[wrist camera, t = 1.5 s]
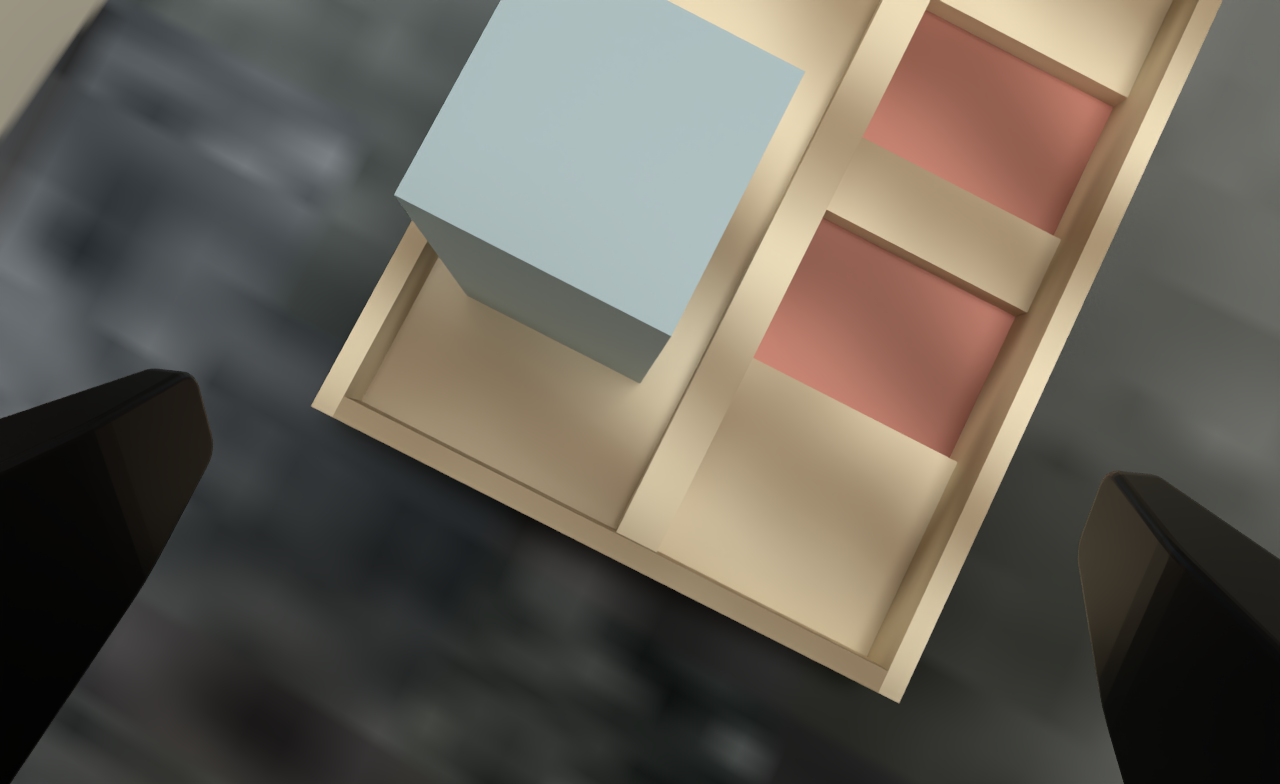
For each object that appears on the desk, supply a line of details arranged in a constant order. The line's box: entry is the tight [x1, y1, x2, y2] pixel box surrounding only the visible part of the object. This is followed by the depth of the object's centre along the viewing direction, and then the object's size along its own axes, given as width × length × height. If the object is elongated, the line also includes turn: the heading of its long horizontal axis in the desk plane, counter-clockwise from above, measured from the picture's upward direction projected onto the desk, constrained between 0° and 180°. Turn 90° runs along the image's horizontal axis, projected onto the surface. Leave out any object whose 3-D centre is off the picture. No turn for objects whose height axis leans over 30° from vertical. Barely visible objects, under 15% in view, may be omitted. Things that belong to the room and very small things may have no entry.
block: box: [394, 0, 805, 383], centre depth 17 cm, size 4×4×8 cm
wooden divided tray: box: [311, 0, 1222, 703], centre depth 22 cm, size 21×14×2 cm, turn 153°
